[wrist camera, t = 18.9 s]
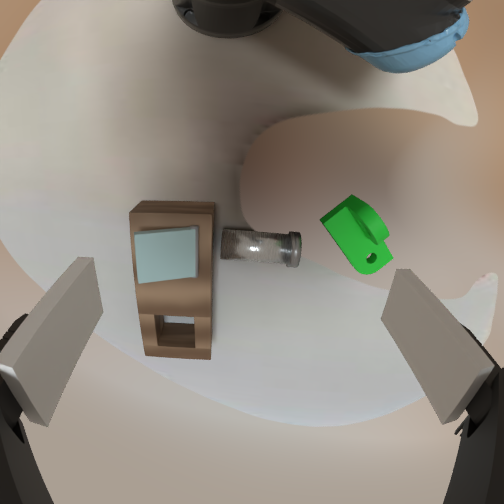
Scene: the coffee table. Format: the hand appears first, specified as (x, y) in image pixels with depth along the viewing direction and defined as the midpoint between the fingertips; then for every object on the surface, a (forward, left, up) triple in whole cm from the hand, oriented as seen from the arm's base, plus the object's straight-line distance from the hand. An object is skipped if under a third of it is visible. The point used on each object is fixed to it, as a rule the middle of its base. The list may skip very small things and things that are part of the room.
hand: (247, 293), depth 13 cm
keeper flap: (+8, -4, -23) cm, 25 cm away
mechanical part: (+8, +19, -30) cm, 36 cm away
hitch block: (+15, -7, -30) cm, 34 cm away
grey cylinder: (+9, -1, -28) cm, 29 cm away
